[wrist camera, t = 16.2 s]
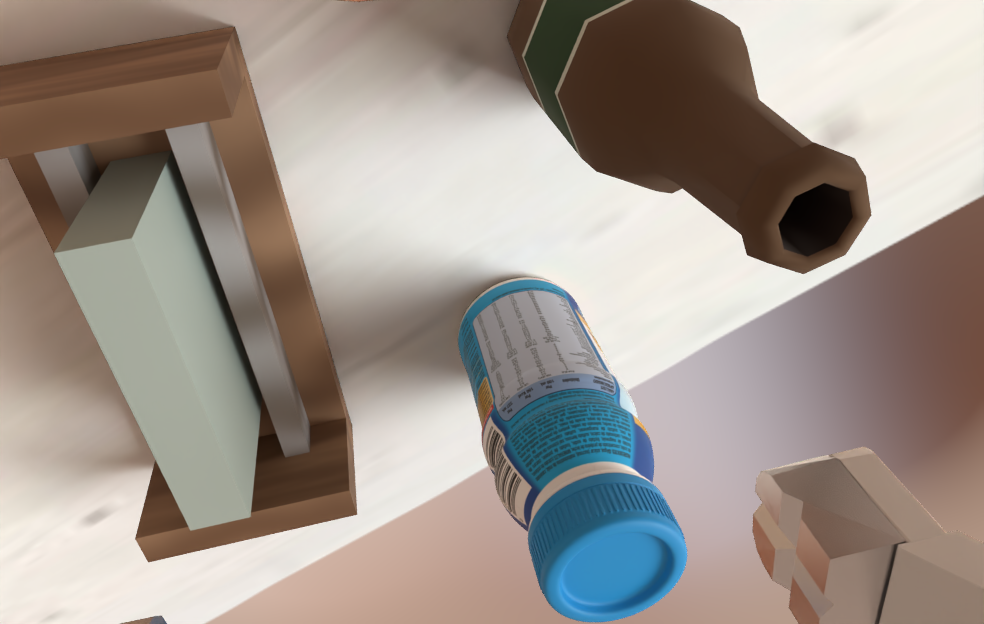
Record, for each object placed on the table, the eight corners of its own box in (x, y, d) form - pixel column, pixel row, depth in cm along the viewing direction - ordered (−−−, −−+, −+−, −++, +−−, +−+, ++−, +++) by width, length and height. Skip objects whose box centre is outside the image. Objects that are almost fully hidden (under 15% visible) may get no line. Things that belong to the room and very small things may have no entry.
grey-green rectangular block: (110, 161, 39) (54, 253, 30) (171, 149, 39) (132, 238, 31) (212, 406, 47) (190, 530, 39) (262, 396, 48) (250, 517, 39)
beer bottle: (502, -48, 38) (703, 89, 18) (652, -54, 40) (993, 69, 20) (503, 108, 43) (667, 357, 23) (639, 98, 44) (909, 327, 24)
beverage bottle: (518, 246, 47) (627, 475, 31) (606, 317, 51) (746, 553, 35) (426, 339, 50) (482, 599, 33) (518, 400, 54) (609, 659, 37)
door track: (-21, 69, 37) (-96, 123, 30) (234, 26, 38) (217, 69, 31) (170, 465, 51) (148, 562, 44) (352, 426, 52) (357, 514, 45)
